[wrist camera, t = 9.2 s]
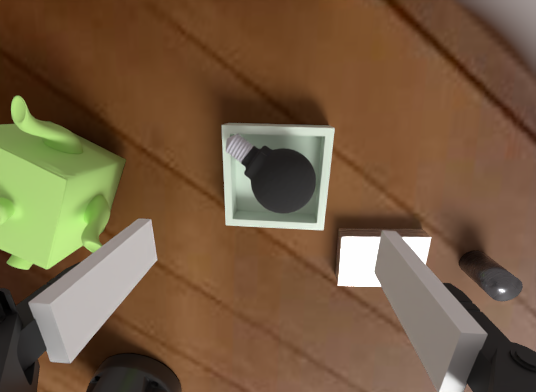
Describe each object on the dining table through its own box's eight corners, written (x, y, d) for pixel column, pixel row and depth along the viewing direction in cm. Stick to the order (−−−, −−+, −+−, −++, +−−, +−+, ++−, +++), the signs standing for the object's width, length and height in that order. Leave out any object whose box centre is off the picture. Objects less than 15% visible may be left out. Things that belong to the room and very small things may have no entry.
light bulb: (228, 122, 19) (327, 197, 21) (253, 103, 25) (331, 164, 26) (197, 176, 23) (283, 237, 24) (225, 150, 28) (294, 201, 30)
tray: (231, 213, 31) (225, 225, 28) (228, 122, 28) (221, 125, 25) (319, 217, 31) (323, 230, 28) (329, 125, 27) (334, 128, 24)
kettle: (108, 97, 28) (-1, 93, 17) (166, 209, 32) (107, 260, 22) (6, 141, 30) (-142, 160, 20) (72, 238, 35) (-21, 297, 24)
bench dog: (456, 271, 32) (485, 300, 27) (463, 249, 31) (494, 275, 26) (482, 273, 32) (515, 302, 27) (490, 251, 31) (527, 277, 26)
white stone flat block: (334, 273, 34) (338, 285, 32) (337, 227, 32) (341, 236, 29) (411, 274, 33) (420, 287, 31) (420, 227, 31) (431, 237, 28)
